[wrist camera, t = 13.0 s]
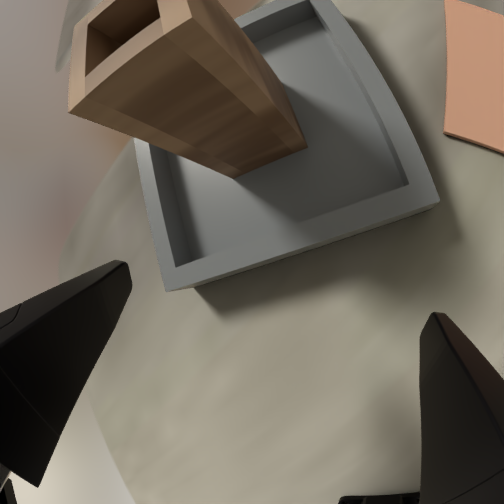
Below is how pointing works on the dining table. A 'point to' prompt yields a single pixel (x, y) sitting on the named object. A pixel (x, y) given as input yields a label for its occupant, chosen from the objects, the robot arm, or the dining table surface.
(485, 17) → the pink square mat
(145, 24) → the sleeve
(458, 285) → the dining table surface
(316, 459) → the dining table surface
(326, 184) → the tray
